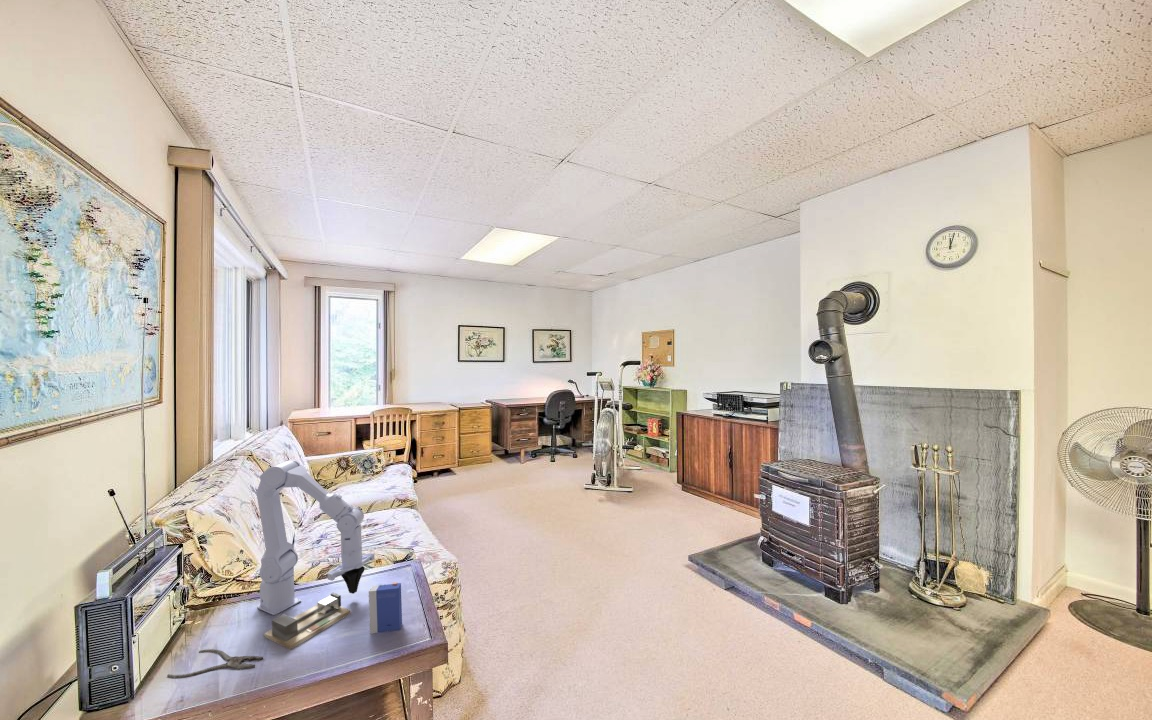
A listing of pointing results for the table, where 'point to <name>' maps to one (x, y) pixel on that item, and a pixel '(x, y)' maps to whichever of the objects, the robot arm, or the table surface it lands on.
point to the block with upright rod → (329, 603)
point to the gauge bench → (303, 626)
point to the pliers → (232, 663)
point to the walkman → (385, 608)
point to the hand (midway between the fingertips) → (352, 592)
